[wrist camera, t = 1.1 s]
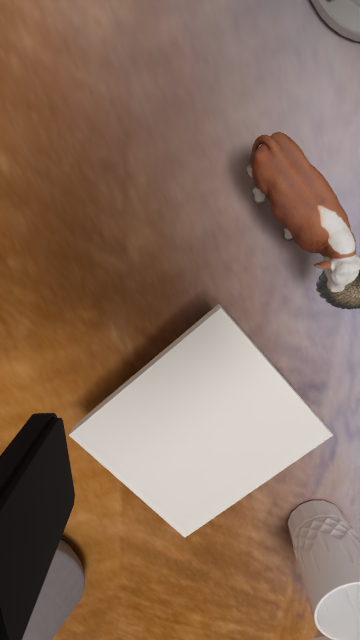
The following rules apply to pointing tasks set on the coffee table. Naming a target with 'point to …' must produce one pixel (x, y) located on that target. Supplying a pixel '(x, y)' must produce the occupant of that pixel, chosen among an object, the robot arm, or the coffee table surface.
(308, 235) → the bull figurine
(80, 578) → the coffee pot
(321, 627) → the white cup
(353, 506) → the coffee table surface
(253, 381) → the display shelf
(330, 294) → the eagle figurine
